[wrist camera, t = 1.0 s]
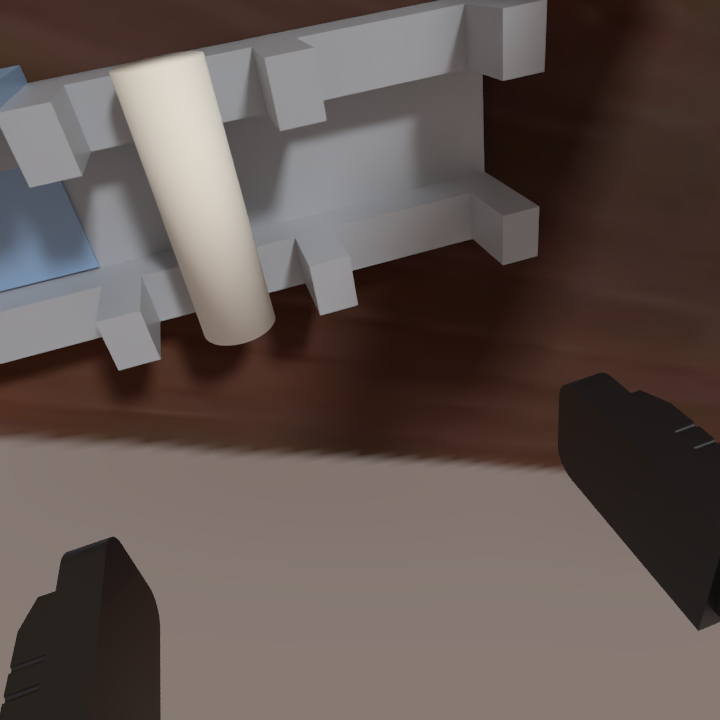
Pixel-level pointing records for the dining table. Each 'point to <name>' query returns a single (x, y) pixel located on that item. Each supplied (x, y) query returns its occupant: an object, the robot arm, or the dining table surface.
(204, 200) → the cream cylindrical rod
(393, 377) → the dining table surface
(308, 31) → the white peg rack
